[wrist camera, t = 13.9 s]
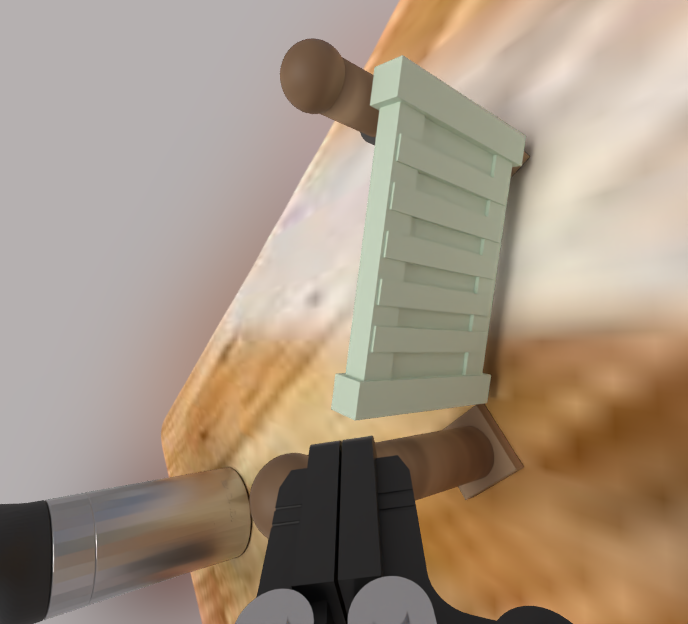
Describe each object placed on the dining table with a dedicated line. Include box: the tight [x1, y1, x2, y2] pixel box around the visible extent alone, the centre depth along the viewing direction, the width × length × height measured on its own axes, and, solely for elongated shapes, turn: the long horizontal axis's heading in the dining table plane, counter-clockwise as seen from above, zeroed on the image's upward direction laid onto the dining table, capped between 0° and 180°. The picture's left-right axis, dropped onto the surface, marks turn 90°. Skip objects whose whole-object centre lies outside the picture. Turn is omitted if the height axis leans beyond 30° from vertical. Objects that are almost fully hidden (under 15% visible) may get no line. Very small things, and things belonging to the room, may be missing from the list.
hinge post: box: [250, 404, 523, 539], centre depth 21 cm, size 4×4×15 cm
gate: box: [331, 55, 526, 420], centre depth 22 cm, size 15×2×10 cm, turn 169°
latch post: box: [280, 39, 530, 177], centre depth 22 cm, size 4×4×15 cm
